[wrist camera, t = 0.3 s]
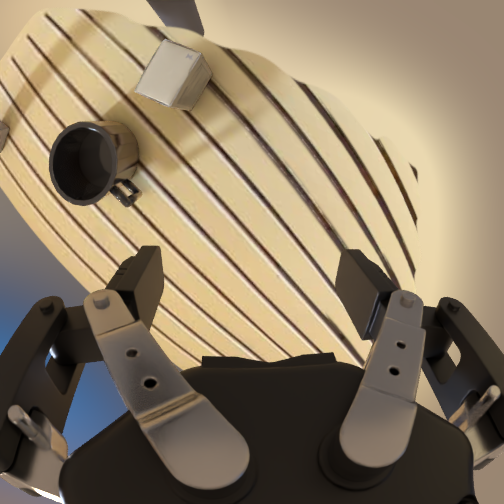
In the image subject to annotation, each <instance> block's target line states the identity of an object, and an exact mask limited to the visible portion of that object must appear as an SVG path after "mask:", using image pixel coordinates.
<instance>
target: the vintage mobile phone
mask: <svg viewBox="0 0 504 504" xmlns="http://www.w3.org/2000/svg"><path fill="white" fill-rule="evenodd" d="M8 131H9V128H8V127H7V126H6V125H5V124H4V123H2V122H1V121H0V153H1V152H2V149H3V146H4V143H5V140H6V137H7V134H8Z"/></svg>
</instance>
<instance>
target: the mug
mask: <svg viewBox="0 0 504 504" xmlns="http://www.w3.org/2000/svg"><path fill="white" fill-rule="evenodd" d="M138 160H139V148H138V143H137V140H136V138H135V136H134V134H133V133H132V132H131V130H130V129H129V128H128V127H126V126H125V125H123V124H121V123H119V122H116V121H84V122H77V123H75V124H72V125H70V126H68V127H67V128H66V129H64V130H63V131H62V132H61V133H60V134H59V135H58V137H57V139H56V140H55V142H54V143H53V146H52V149H51V152H50V157H49V172H50V176H51V181H52V183H53V185H54V187H55V189H56V191H57V192H58V193H59V194H60V195H61V196H62V197H63V198H64V199H65V200H66V201H68V202H70V203H72V204H74V205H80V206H87V205H91V204H95V203H96V202H98V201H99V200H101V199H103V198H104V197H106V196H107V195H109V194H110V193H111V194H112V195H113V196H114V197H115V198H116V199H118V200H119V201H120V202H121V203H122V204H123V205H124V206H125V207H130V206H131V205H132V204H133V203H134V202H136V201H137V200H138V199H139V198H140V197H141V196H142V192H141V190H139V189H138V188H137V187H136V186H135V185H134V184H133V183H132V182H131V181H130V179H131V177H132V176H133V174H134V172H135V170H136V168H137V165H138ZM123 185H124V186H125V187H126V188H127V189H128V190H129V191H130V192H131V193H132V194H131V195H130V196H129V197H127V196H126V195H125V194H124V193H123V192H122V191H121V190H120V189H119V188H120V187H121V186H123Z"/></svg>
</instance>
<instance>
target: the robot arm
mask: <svg viewBox="0 0 504 504" xmlns="http://www.w3.org/2000/svg"><path fill="white" fill-rule="evenodd" d="M335 287H336V292H337V294H338V296H339V298H340V300H341V302H342V303H343V305H344V307H345V309H346V311H347V313H348V315H349V316H350V318H351V320H352V322H353V324H354V326H355V328H356V330H357V332H358V334H359V336H360V338H361V340H370V339H373V340H374V342H373V345H372V347H371V349H370V352H369V354H368V357H367V359H366V362H365V364H364V367H363V369H362V368H360V367H357V366H355V365H352V364H348V363H344V362H337V361H336V358H335V356H334V353H333V352H331V353H320V354H306V355H300V356H296V357H293V358H289V359H285V360H281V361H277V362H262V361H256V360H251V359H245V358H240V357H216V356H202V365H201V366H197V367H193V368H189V369H186V370H184V371H181V372H179V371H178V370H177V368H176V367H175V366H174V365H173V363H172V362H171V361H170V359H169V358H168V357H167V355H166V354H165V353H164V351H163V350H162V349H161V347H160V346H159V345H158V343H157V342H156V340H155V339H154V338H153V336H152V335H151V333H150V332H149V331H150V328H151V325H152V322H153V319H154V316H155V313H156V310H157V307H158V304H159V302H160V299H161V296H162V293H163V289H164V274H163V266H162V257H161V249H160V247H159V246H142V247H141V248H140V250H139V251H138V253H137V254H136V256H131V257H129V258H128V259H126V260H125V261H123V262H122V264H121V265H120V267H119V270H117V271H116V273H115V275H114V276H113V277H112V279H111V280H110V282H109V283H108V285H107V286H106V288H105V289H102V290H98V291H95V292H93V293H91V294H89V295H88V296H87V297H86V298H85V299H84V301H83V305H82V306H75V307H68V308H65V305H64V302H63V300H62V299H61V298H60V297H57V296H49V297H45V298H43V299H41V300H39V301H38V302H37V303H36V304H34V306H33V307H32V308H31V310H30V311H29V313H28V314H27V315H26V317H25V318H24V319H23V321H22V322H21V324H20V325H19V327H18V328H17V330H16V331H15V333H14V334H13V336H12V338H11V339H10V340H9V342H8V344H7V345H6V347H5V349H4V350H3V352H2V353H1V355H0V477H1V478H2V479H4V480H5V481H7V482H8V483H10V484H11V485H13V486H15V487H17V488H19V489H21V490H23V491H24V492H26V493H28V494H29V495H32V496H37V497H38V496H43V495H44V496H47V497H49V498H52V499H54V500H57V501H59V502H62V504H479V503H478V501H477V499H476V496H475V491H474V481H473V470H480V469H482V468H483V467H485V466H486V465H487V464H488V463H490V462H491V461H493V460H494V459H495V458H496V457H497V456H499V455H500V454H501V453H503V452H504V354H503V353H502V352H501V350H500V349H499V348H498V346H497V345H496V344H495V342H494V341H493V340H492V339H491V337H490V336H489V335H488V333H487V332H486V331H485V330H484V328H483V327H482V326H481V325H480V324H479V322H478V321H477V320H476V319H475V318H474V316H473V315H472V314H471V313H470V312H469V310H468V309H467V308H466V307H465V306H464V305H463V304H462V303H461V302H459V301H458V300H456V299H453V298H450V297H443V298H441V299H440V301H439V303H438V306H437V308H435V307H429V306H423V301H422V300H421V299H420V298H419V297H418V296H417V295H416V294H414V293H412V292H409V291H406V290H399V289H398V288H397V287H396V286H395V284H394V283H393V282H392V281H391V280H390V279H389V278H387V275H386V274H385V273H383V270H382V269H381V268H380V267H379V266H378V265H377V264H375V263H374V262H372V261H370V260H369V259H368V258H367V257H366V256H365V255H364V254H363V253H362V252H361V250H359V249H344V250H343V251H342V253H341V257H340V262H339V267H338V271H337V276H336V282H335ZM453 341H454V343H455V344H456V346H457V347H458V349H459V350H460V353H461V359H460V362H459V364H458V365H457V367H456V366H455V364H454V362H453V361H452V359H451V357H450V356H449V354H448V353H447V351H448V349H449V347H450V345H451V344H452V342H453ZM49 351H50V353H51V355H52V356H51V358H50V360H49V362H48V364H47V366H46V368H45V360H46V357H47V355H48V353H49ZM97 361H104V362H105V364H106V367H107V369H108V371H109V373H110V375H111V377H112V379H113V381H114V383H115V385H116V388H117V389H118V391H119V393H120V395H121V397H122V399H123V401H124V403H125V405H126V407H127V409H128V411H127V412H126V413H124V414H123V415H122V416H120V417H119V418H118V419H117V420H115V421H114V422H113V423H111V424H110V425H109V426H108V427H106V428H105V429H103V430H102V431H101V432H99V433H98V434H97V435H95V436H94V437H93V438H91V439H90V440H89V441H87V442H86V443H85V444H83V445H82V446H81V447H79V448H78V449H76V450H75V451H74V452H73V453H71V454H70V456H68V445H67V442H66V439H65V438H64V436H63V435H62V433H63V429H64V426H65V422H66V419H67V416H68V412H69V409H70V406H71V403H72V400H73V397H74V394H75V391H76V388H77V385H78V382H79V380H80V377H81V374H82V371H83V369H84V366H85V363H88V362H97ZM421 368H422V370H423V372H424V374H425V376H426V378H427V380H428V382H429V384H430V385H431V387H432V389H433V391H434V393H435V396H436V398H437V400H438V402H439V404H440V406H441V408H442V410H443V412H444V414H445V416H446V418H447V420H445V419H443V418H441V417H440V416H438V415H436V414H435V413H433V412H431V411H430V410H428V409H426V408H425V407H423V406H421V405H420V404H418V403H417V402H415V398H416V393H417V388H418V383H419V376H420V372H421Z"/></svg>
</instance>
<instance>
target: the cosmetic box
mask: <svg viewBox="0 0 504 504" xmlns="http://www.w3.org/2000/svg"><path fill="white" fill-rule="evenodd" d="M211 76H212V72H211V70H210V68H209V66H208V65H207V63H206V61H205V59H204V57H203V55H202V53H200V52H198V51H196V50H194V49H191V48H189V47H186V46H184V45H181V44H178V43H176V42H173V41H169V40H166V39H165V40H163V42H162V43H161V44H160V46H159V47H158V49H157V50H156V52H155V53H154V55H153V56H152V58H151V60H150V62H149V63H148V65H147V67H146V69H145V70H144V72H143V74H142V76H141V78H140V80H139V82H138V84H137V86H136V88H135V92H136V93H138V94H140V95H142V96H144V97H146V98H148V99H151V100H153V101H155V102H157V103H159V104H162V105H164V106H166V107H170V108H176V109H182V110H187V111H191V110H192V108H193V107H194V105H195V103H196V102H197V100H198V98H199V97H200V95H201V93H202V92H203V90H204V88H205V86H206V85H207V83H208V81H209V79H210V78H211Z"/></svg>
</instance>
